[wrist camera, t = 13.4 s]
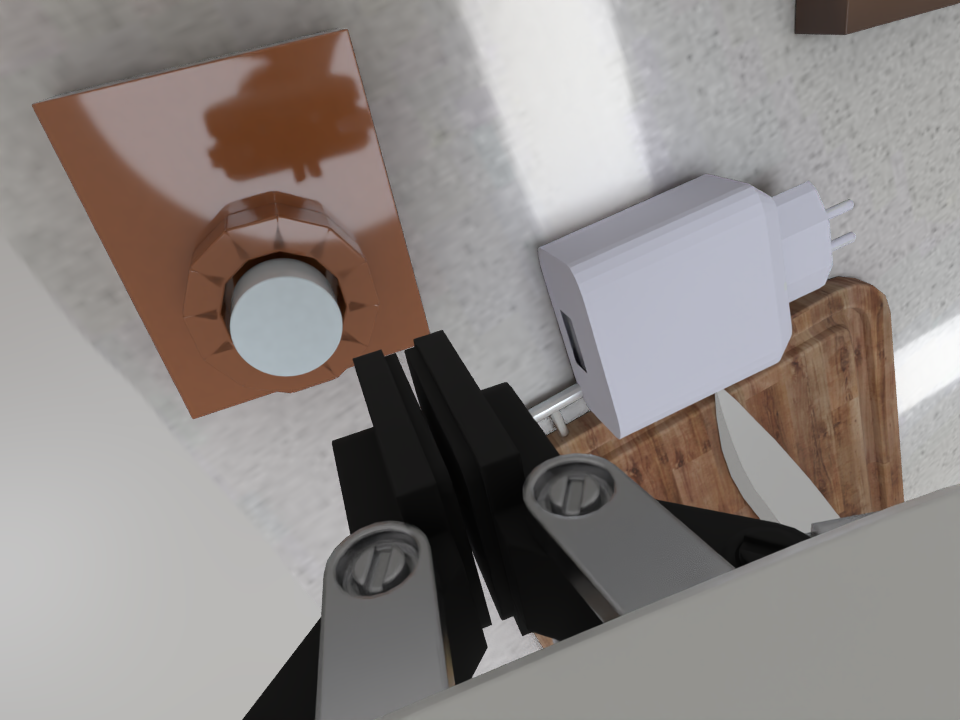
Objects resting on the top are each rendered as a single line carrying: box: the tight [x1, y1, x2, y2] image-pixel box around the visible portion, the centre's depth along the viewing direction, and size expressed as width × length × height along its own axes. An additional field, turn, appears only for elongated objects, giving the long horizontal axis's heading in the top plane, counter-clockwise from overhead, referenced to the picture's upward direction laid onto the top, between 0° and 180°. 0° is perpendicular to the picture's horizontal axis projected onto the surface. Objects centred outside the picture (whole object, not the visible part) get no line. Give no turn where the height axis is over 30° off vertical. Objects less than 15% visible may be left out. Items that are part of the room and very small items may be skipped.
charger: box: [538, 174, 856, 439], centre depth 32 cm, size 5×9×15 cm
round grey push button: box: [230, 258, 343, 376], centre depth 23 cm, size 4×4×2 cm
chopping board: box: [528, 277, 904, 648], centre depth 45 cm, size 45×27×3 cm, turn 23°
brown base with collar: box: [32, 28, 430, 419], centre depth 24 cm, size 12×10×5 cm
